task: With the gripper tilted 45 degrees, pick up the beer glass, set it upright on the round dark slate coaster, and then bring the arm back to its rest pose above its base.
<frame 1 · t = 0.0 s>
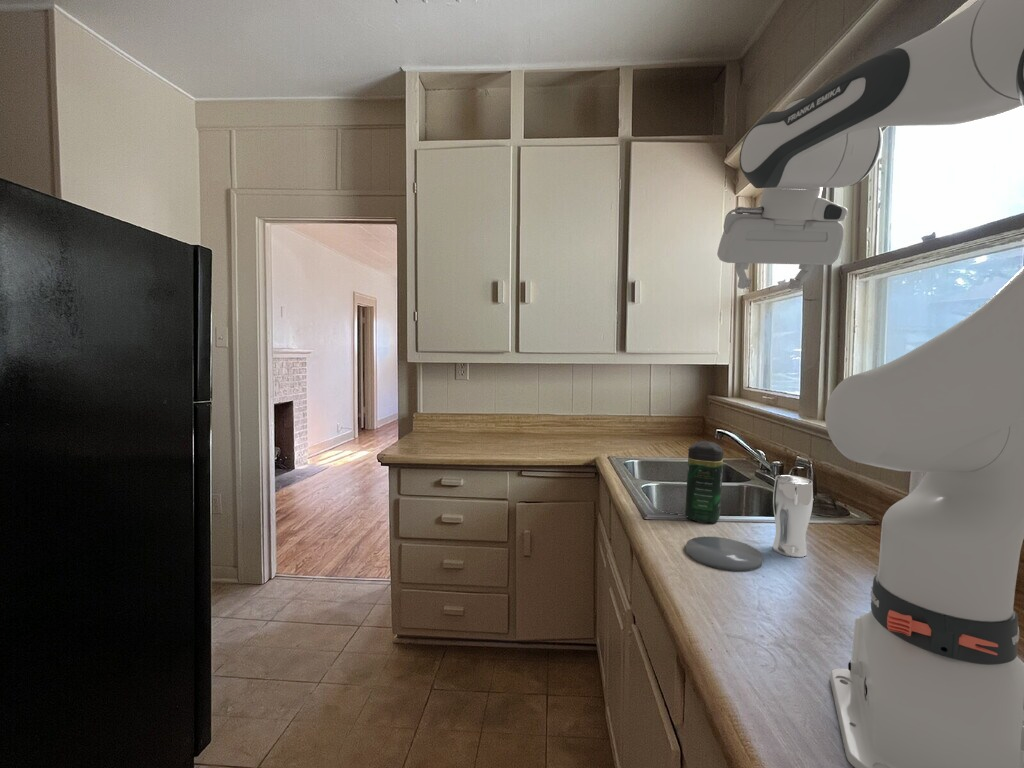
hand: (768, 288, 87), 52 cm above the countertop, tool tilted 20°, fingers open, 8 cm apart
coffee jar: (702, 518, 118), on the countertop
beer glass: (789, 552, 98), on the countertop
coaster: (722, 555, 96), on the countertop
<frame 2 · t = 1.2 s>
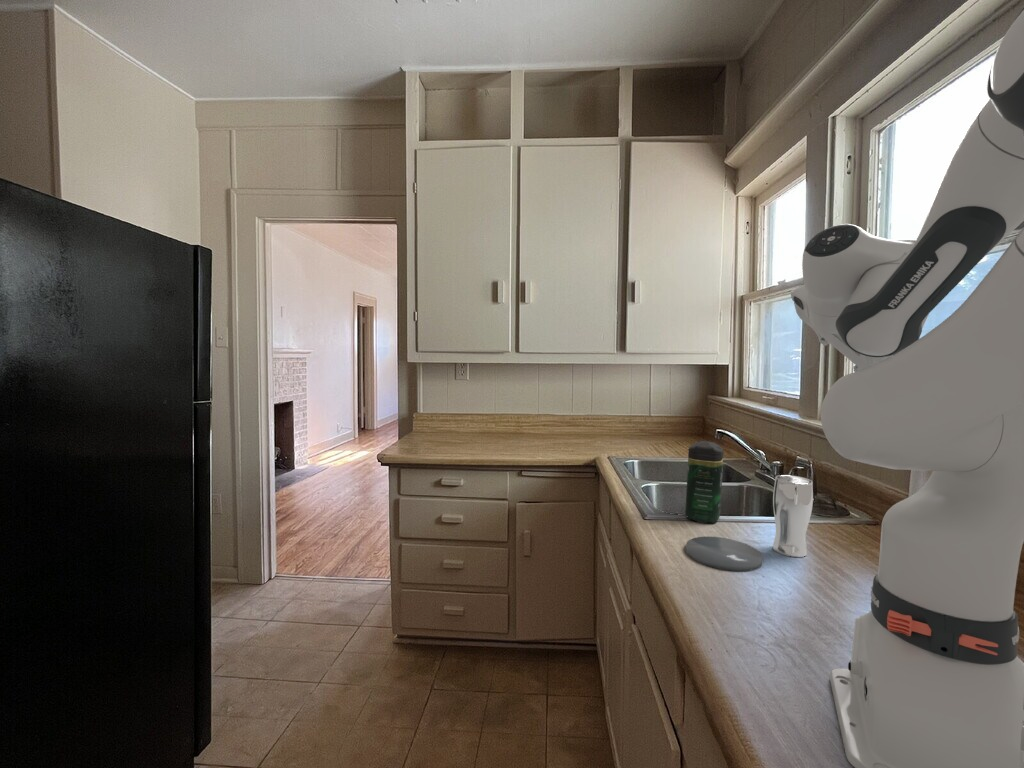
hand: (842, 356, 92), 40 cm above the countertop, tool tilted 55°, fingers open, 8 cm apart
nothing on the countertop moved.
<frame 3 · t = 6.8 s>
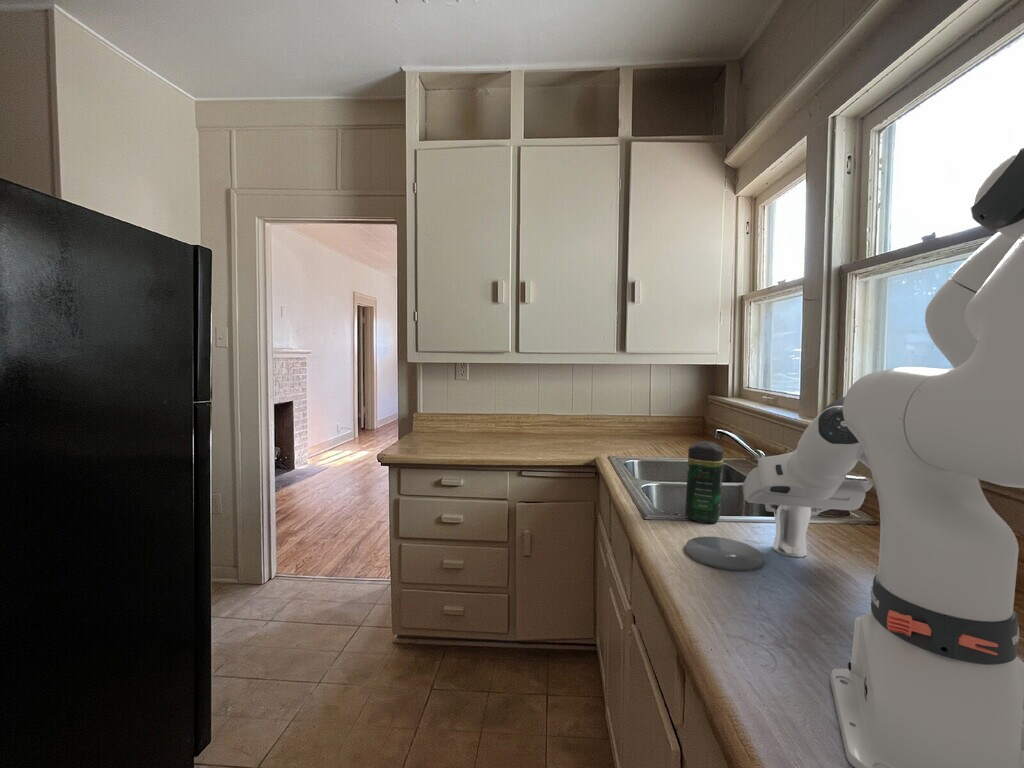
hand: (790, 510, 98), 8 cm above the countertop, tool tilted 45°, fingers closed on beer glass, 7 cm apart
beer glass: (789, 552, 98), on the countertop, touching gripper
everything else where it was.
when the fingers open (11 cm above the countertop, at t = 16.0 s): beer glass stays where it is, resting on coaster.
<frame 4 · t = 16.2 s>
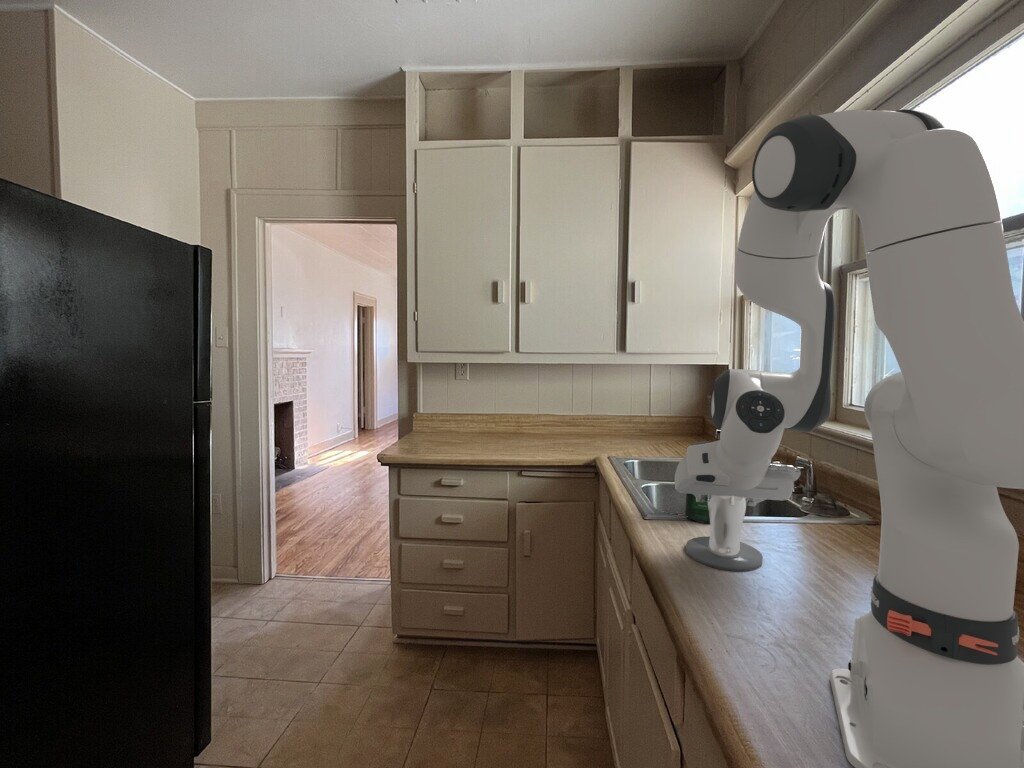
hand: (724, 500, 96), 11 cm above the countertop, tool tilted 45°, fingers open, 8 cm apart
beer glass: (724, 552, 95), point 1 cm above the countertop, touching coaster
everything else where it was.
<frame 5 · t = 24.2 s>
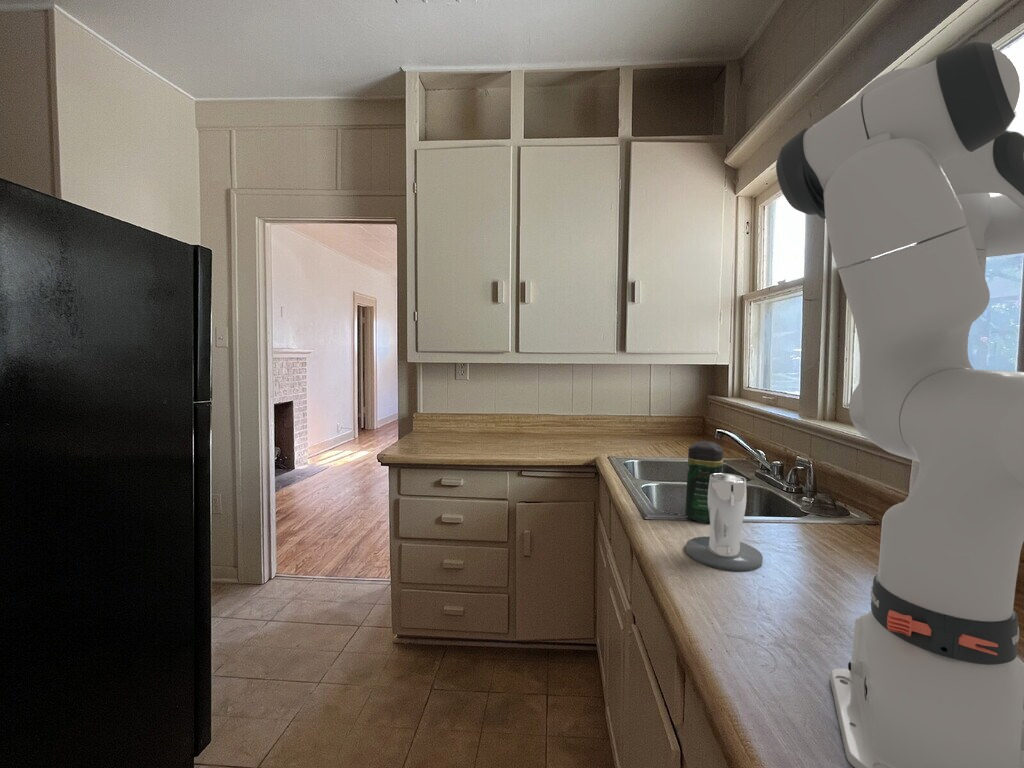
hand: (938, 363, 75), 39 cm above the countertop, tool pointing down, fingers open, 8 cm apart
nothing on the countertop moved.
at the end: beer glass inside the target area on the coaster (0.9 cm from its centre), point 0.8 cm above the coaster's base; beer glass tilted 0°; the gripper is holding nothing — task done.
